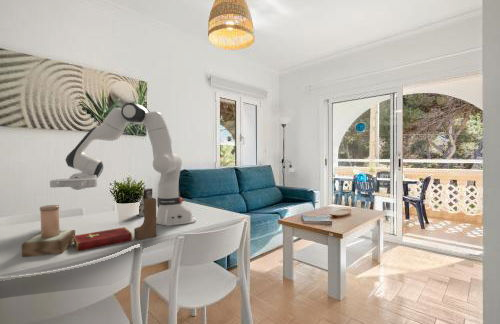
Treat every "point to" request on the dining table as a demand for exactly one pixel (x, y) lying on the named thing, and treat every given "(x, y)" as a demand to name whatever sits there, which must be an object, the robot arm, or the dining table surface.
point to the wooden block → (147, 221)
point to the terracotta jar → (49, 221)
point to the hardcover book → (102, 238)
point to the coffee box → (146, 195)
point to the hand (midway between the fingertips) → (69, 184)
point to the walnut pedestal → (48, 244)
